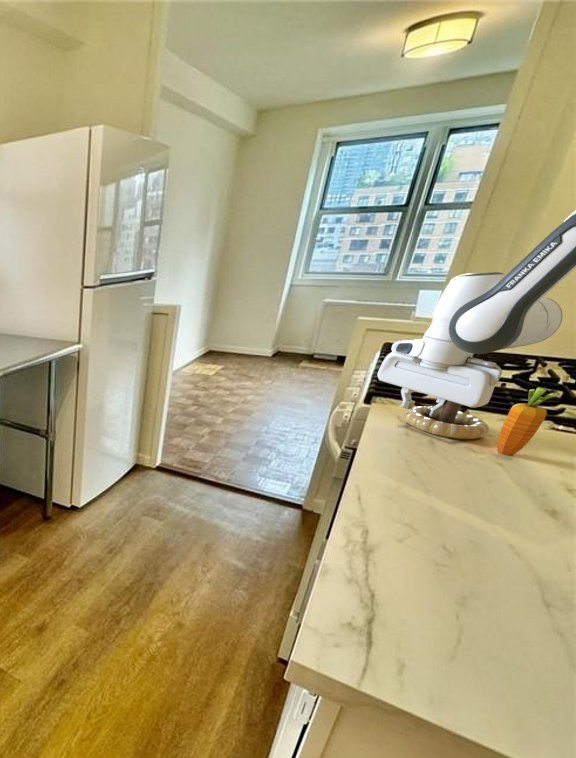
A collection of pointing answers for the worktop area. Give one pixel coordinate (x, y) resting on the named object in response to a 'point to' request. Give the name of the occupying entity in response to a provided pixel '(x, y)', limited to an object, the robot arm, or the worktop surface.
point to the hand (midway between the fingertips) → (417, 411)
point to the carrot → (522, 423)
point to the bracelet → (447, 424)
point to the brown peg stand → (449, 413)
